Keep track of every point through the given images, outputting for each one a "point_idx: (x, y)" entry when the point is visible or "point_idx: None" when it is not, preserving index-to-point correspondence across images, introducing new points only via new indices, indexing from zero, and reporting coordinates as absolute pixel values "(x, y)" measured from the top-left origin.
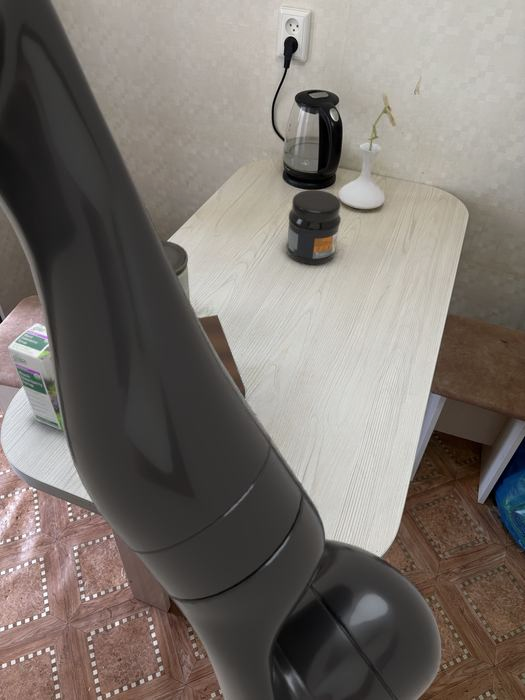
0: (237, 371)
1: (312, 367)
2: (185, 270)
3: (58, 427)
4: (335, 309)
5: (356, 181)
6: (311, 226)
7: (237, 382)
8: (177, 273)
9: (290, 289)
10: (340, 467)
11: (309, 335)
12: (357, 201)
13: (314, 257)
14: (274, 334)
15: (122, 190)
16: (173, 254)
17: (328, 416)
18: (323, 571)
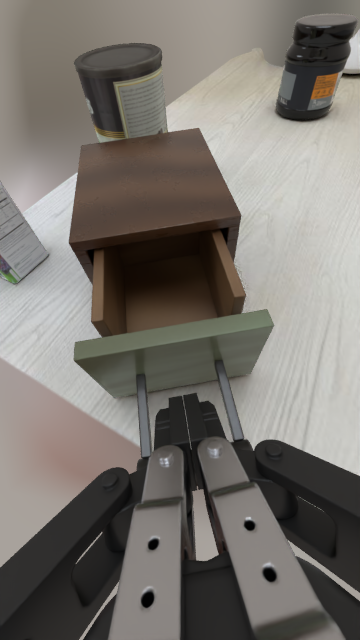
0: (227, 189)
1: (316, 217)
2: (158, 72)
3: (4, 277)
4: (337, 158)
5: (354, 38)
6: (316, 54)
7: (227, 204)
8: (145, 68)
9: (281, 142)
10: None
11: (308, 184)
12: (352, 62)
13: (309, 108)
14: (265, 183)
15: None
16: (143, 52)
17: (346, 276)
18: None
